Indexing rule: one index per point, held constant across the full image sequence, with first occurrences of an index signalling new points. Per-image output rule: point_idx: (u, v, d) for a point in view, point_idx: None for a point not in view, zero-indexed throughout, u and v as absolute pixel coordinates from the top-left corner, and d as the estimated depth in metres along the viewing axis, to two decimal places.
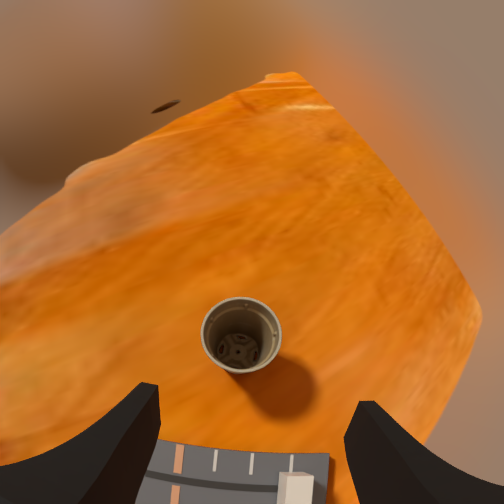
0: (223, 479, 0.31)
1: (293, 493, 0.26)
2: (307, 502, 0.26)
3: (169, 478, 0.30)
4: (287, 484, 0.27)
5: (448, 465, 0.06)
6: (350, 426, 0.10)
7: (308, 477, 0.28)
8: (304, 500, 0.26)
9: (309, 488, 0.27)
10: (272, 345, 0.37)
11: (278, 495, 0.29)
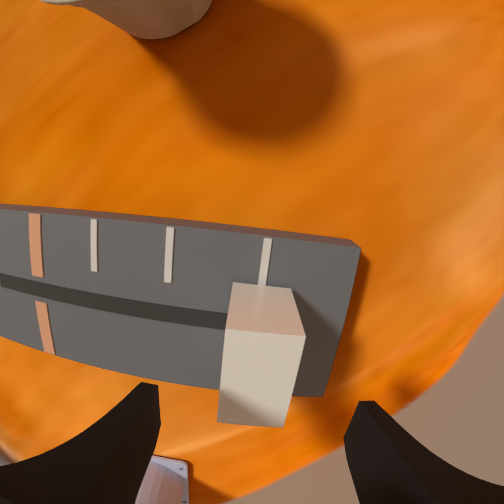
0: (113, 290, 0.17)
1: (241, 377, 0.12)
2: (278, 402, 0.12)
3: (30, 287, 0.17)
4: (225, 351, 0.12)
5: (448, 465, 0.06)
6: (350, 426, 0.10)
7: (289, 339, 0.11)
8: (272, 396, 0.12)
9: (288, 369, 0.12)
10: None
11: None
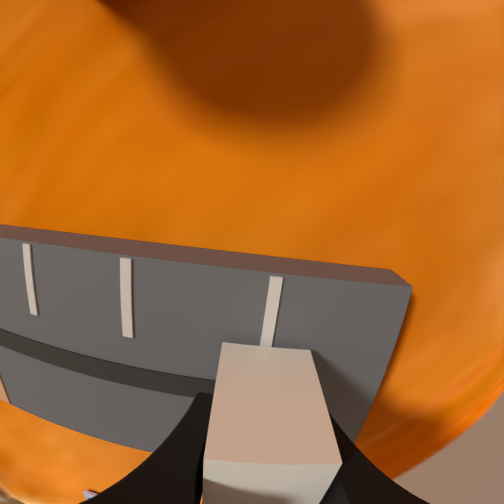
0: (60, 340, 0.11)
1: None
2: None
3: None
4: (206, 481, 0.06)
5: (386, 479, 0.06)
6: None
7: (314, 468, 0.06)
8: None
9: (308, 497, 0.06)
10: None
11: None
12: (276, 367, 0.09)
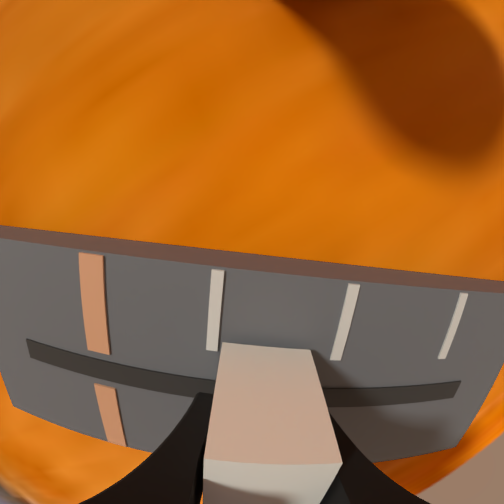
0: None
1: None
2: None
3: (84, 365, 0.11)
4: (207, 482, 0.06)
5: (386, 479, 0.06)
6: None
7: (314, 468, 0.06)
8: None
9: (308, 497, 0.06)
10: None
11: None
12: (276, 367, 0.09)
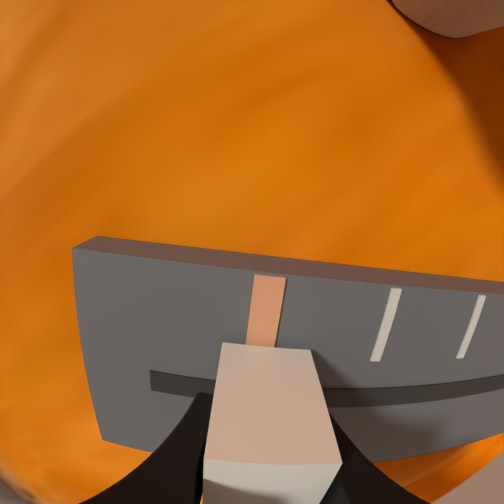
0: (392, 379, 0.11)
1: None
2: None
3: None
4: (207, 482, 0.06)
5: (386, 478, 0.06)
6: None
7: (314, 468, 0.06)
8: None
9: (308, 497, 0.06)
10: None
11: None
12: (276, 367, 0.09)
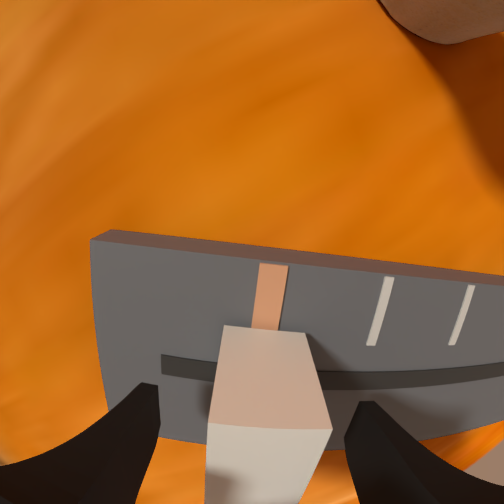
0: (387, 363, 0.12)
1: (234, 475, 0.07)
2: (287, 495, 0.07)
3: None
4: (210, 448, 0.07)
5: (448, 465, 0.06)
6: (350, 426, 0.10)
7: (307, 433, 0.07)
8: (278, 491, 0.07)
9: (303, 465, 0.07)
10: None
11: None
12: (273, 347, 0.10)
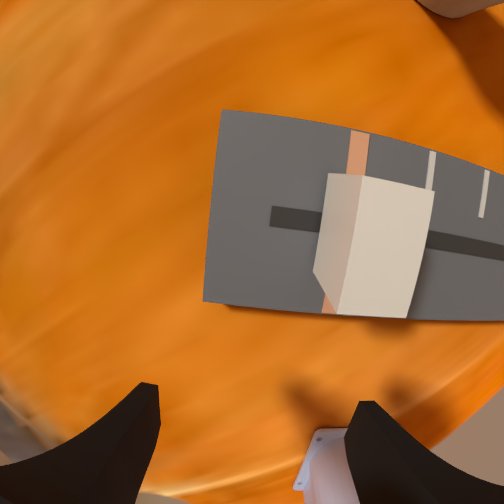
0: (438, 224, 0.16)
1: (373, 242, 0.10)
2: (406, 279, 0.11)
3: None
4: (360, 206, 0.10)
5: (448, 465, 0.06)
6: (350, 426, 0.10)
7: (420, 193, 0.10)
8: (401, 270, 0.11)
9: (419, 232, 0.10)
10: None
11: (321, 241, 0.15)
12: None
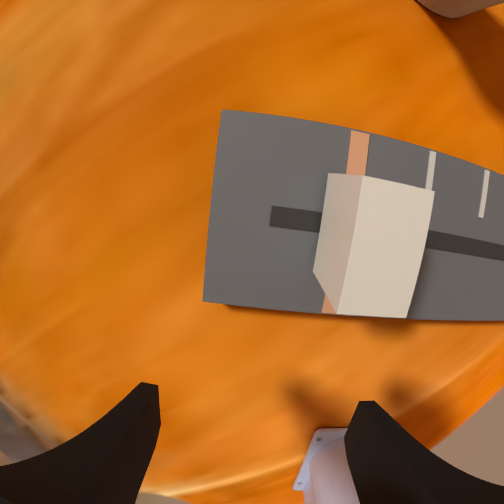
0: (438, 224, 0.16)
1: (373, 242, 0.10)
2: (406, 279, 0.11)
3: None
4: (360, 206, 0.10)
5: (448, 465, 0.06)
6: (350, 426, 0.10)
7: (420, 193, 0.10)
8: (401, 270, 0.11)
9: (419, 232, 0.10)
10: None
11: (321, 241, 0.15)
12: None
